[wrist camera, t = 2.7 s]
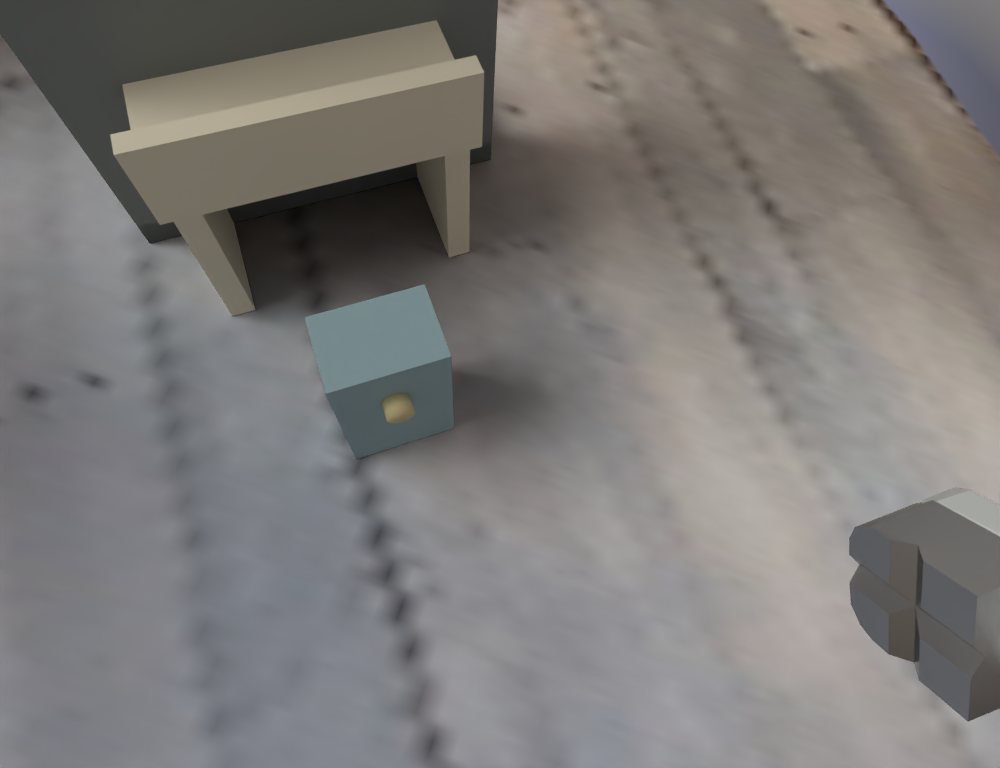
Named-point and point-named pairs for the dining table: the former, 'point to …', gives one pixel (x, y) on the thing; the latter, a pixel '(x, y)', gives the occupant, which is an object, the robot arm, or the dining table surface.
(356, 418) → the small cabinet
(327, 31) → the wall board
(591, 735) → the dining table surface
